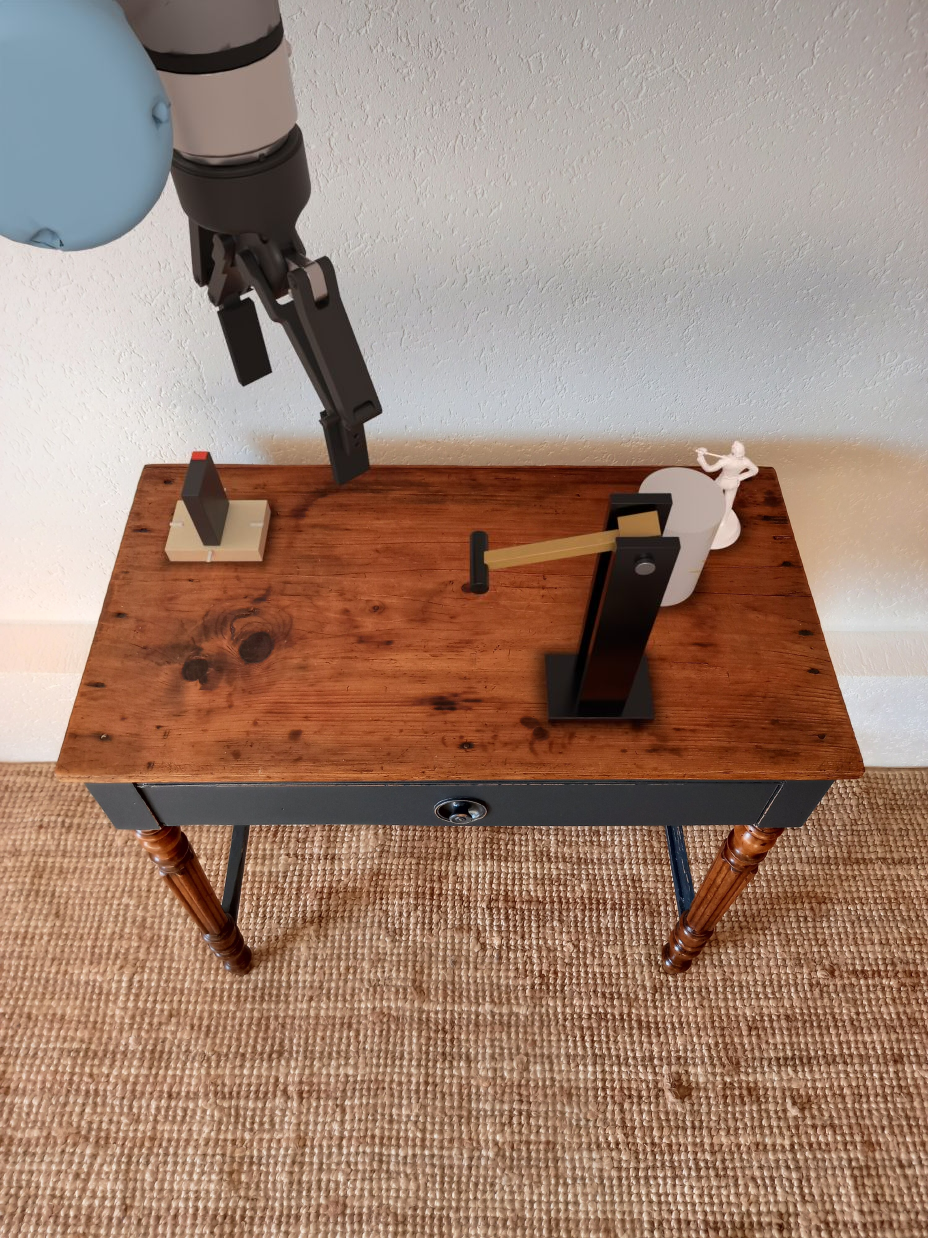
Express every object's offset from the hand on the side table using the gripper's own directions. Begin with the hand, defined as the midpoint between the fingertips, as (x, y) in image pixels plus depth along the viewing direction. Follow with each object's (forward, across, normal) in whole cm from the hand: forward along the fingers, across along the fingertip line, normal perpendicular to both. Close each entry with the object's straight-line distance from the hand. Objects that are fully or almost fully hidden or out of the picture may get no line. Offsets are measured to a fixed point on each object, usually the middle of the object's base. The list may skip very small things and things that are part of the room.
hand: (301, 424), depth 61 cm
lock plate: (+26, +17, +5) cm, 32 cm away
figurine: (+26, -16, -38) cm, 49 cm away
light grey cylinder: (+26, -17, -28) cm, 42 cm away
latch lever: (+5, -20, -10) cm, 23 cm away
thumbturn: (+24, +17, +5) cm, 30 cm away
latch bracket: (+26, -23, -14) cm, 37 cm away
